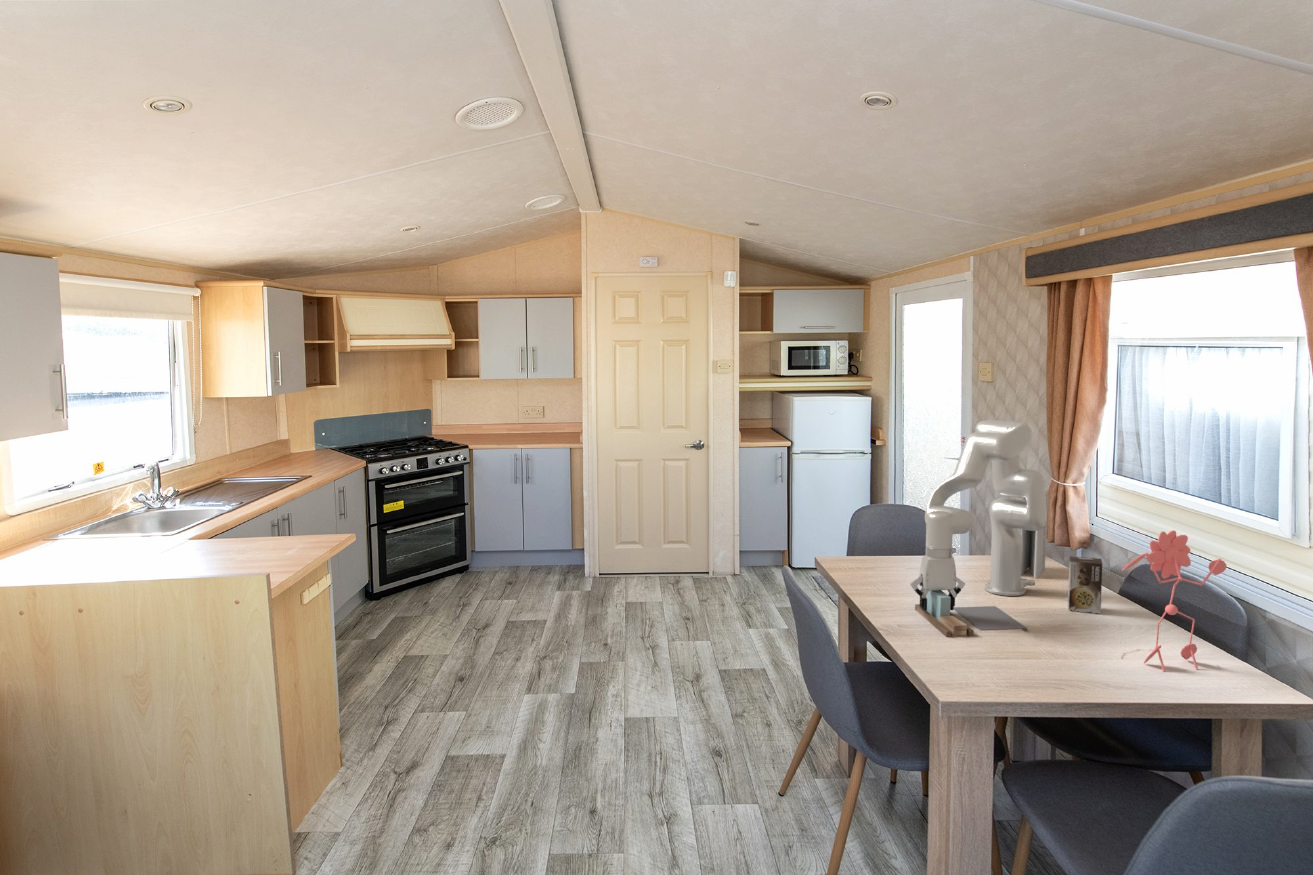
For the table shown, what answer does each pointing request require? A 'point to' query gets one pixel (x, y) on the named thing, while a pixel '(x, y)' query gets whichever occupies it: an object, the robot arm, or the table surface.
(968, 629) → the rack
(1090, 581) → the coffee box
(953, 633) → the block
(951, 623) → the offcut top
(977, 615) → the mat
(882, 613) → the table surface
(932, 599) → the teal rectangular block
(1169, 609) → the figurine
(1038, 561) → the grey upright slab
